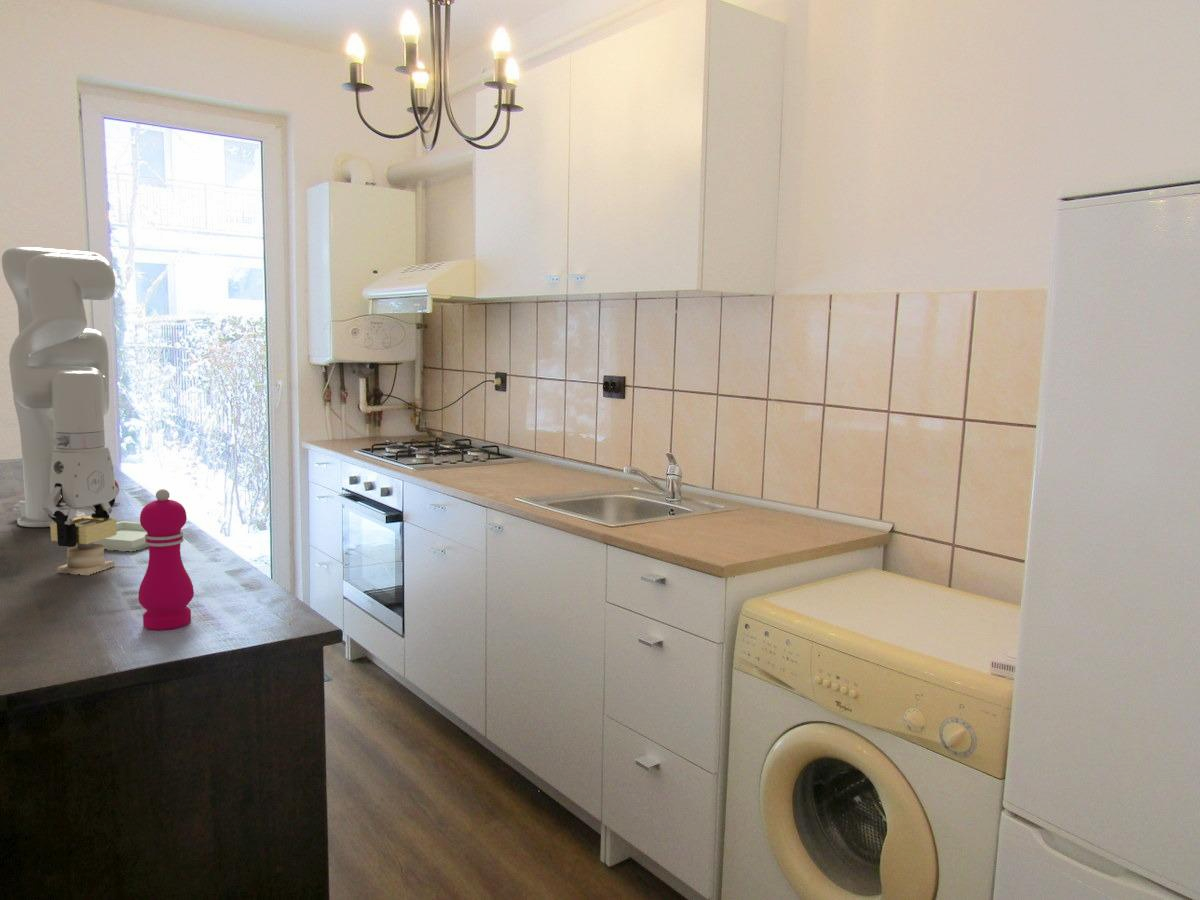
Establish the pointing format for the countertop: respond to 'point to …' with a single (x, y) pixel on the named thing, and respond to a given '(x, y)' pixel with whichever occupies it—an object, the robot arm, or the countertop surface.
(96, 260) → the robot arm
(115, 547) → the tray
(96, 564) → the beige post on base
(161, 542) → the pepper mill
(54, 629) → the countertop surface
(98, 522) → the ring
